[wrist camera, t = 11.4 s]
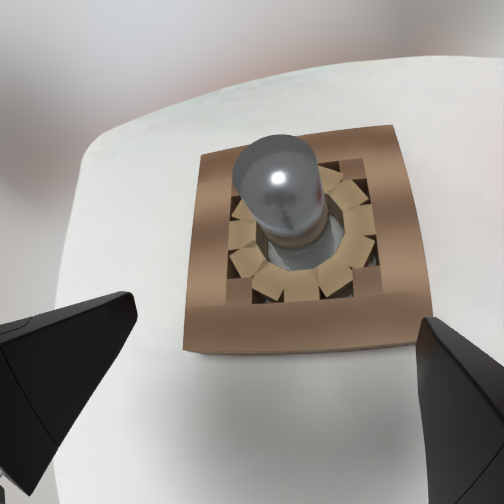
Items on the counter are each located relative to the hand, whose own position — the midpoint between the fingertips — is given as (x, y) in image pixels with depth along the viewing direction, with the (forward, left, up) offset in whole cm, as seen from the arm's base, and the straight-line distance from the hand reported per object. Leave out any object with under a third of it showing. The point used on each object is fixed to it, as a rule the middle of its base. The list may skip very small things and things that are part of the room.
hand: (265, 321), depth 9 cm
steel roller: (+8, +2, -13) cm, 16 cm away
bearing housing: (+8, +2, -13) cm, 16 cm away
